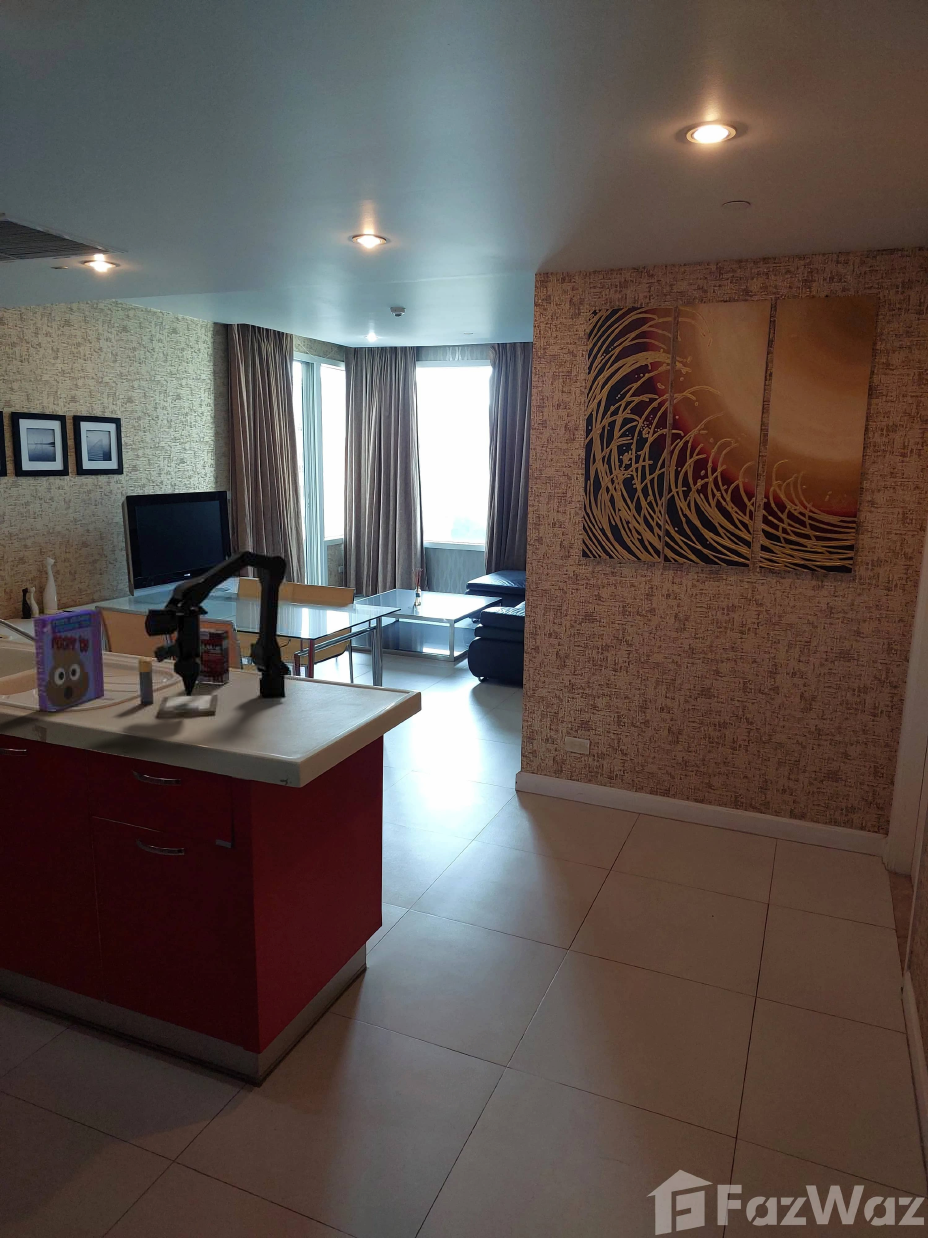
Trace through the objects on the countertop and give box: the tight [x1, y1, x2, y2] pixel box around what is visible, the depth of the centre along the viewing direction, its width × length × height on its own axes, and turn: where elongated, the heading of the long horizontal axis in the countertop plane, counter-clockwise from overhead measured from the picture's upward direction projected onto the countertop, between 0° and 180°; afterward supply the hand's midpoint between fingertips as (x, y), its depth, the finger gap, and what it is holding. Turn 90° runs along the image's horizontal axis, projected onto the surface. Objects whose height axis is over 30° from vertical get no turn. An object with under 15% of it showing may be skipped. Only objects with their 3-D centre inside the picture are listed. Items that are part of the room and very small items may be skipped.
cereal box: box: [33, 608, 105, 711], centre depth 212 cm, size 17×5×24 cm, turn 162°
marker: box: [137, 657, 154, 706], centre depth 214 cm, size 3×3×12 cm
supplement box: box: [197, 628, 230, 684], centre depth 238 cm, size 9×5×16 cm, turn 80°
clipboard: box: [156, 694, 218, 718], centre depth 212 cm, size 14×16×2 cm
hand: (190, 691), depth 209 cm, fingers open, 8 cm apart
